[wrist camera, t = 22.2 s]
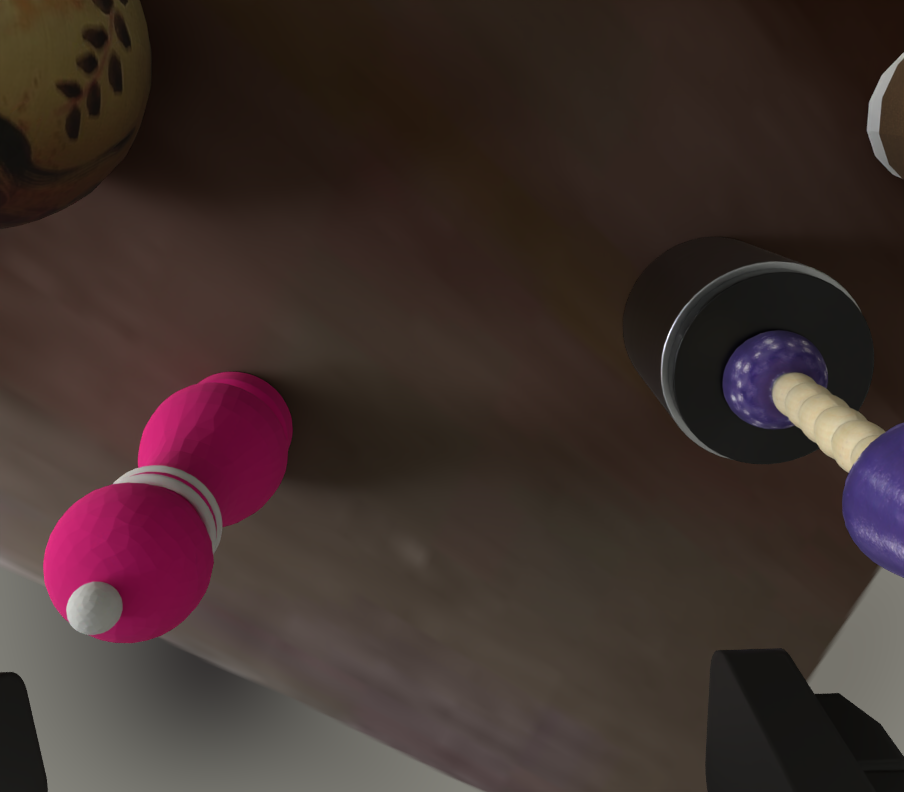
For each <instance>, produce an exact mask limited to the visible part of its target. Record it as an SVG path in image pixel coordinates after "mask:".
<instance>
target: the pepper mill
mask: <svg viewBox="0 0 904 792" xmlns="http://www.w3.org/2000/svg"><path fill="white" fill-rule="evenodd" d="M292 434H293V427H292V418H291V414H290V411H289V408H288V407H287V405H286V403H285V401H284V399H283V398H282V396H281V395H280V394H279V393H278V392H277V391H276V389H274V388H273V387H272V386H271V385H270V384H268V383H267V382H265V381H264V380H262V379H260V378H258V377H256V376H253V375H250V374H247V373H241V372H222V373H218V374H214V375H211V376H209V377H207V378H205V379H203V380H202V381H201V382H199V383H198V384H196V385H191V386H189V387H186V388H184V389H182V390H179V391H177V392H176V393H174V394H173V395H171V396H170V397H168V398H167V399H166V400H165V401H164V402H163V403H162V404H161V405H160V406H159V407H158V408H157V410H156V411H155V412H154V414H153V415H152V416H151V418H150V420H149V422H148V423H147V425H146V427H145V429H144V431H143V435H142V438H141V442H140V448H139V455H138V468H136V469H134V470H131V471H129V472H127V473H126V474H124V475H123V476H121V477H120V478H119V479H118V480H116V481H115V482H114V483H113V484H112V485H109V486H106V487H103V488H100V489H97V490H94V491H92V492H91V493H89V494H87V495H85V496H84V497H83V498H81V499H80V500H78V501H77V502H76V503H74V504H73V505H72V506H71V507H70V508H69V509H68V510H67V511H66V512H65V513H64V515H63V516H62V517H61V519H60V520H59V521H58V522H57V524H56V526H55V528H54V530H53V531H52V533H51V535H50V538H49V541H48V544H47V547H46V550H45V556H44V563H43V568H44V580H45V585H46V588H47V591H48V593H49V596H50V598H51V600H52V602H53V604H54V606H55V607H56V609H57V610H58V611H59V613H60V614H61V615H62V616H63V618H64V619H65V620H67V621H68V622H69V623H70V625H71V626H72V627H73V628H74V629H76V630H77V631H78V632H81V633H83V634H86V635H89V636H92V637H94V638H97V639H100V640H103V641H108V642H114V643H135V642H141V641H146V640H150V639H153V638H155V637H158V636H161V635H163V634H165V633H166V632H168V631H170V630H172V629H173V628H175V627H176V626H178V625H179V624H180V623H181V622H183V621H184V620H185V619H186V618H187V617H188V615H189V614H190V613H191V612H192V611H193V610H194V609H195V608H196V607H197V605H198V604H199V602H200V600H201V599H202V597H203V596H204V594H205V593H206V590H207V588H208V585H209V582H210V578H211V573H212V568H213V564H214V560H213V554H214V552H215V551H216V549H217V547H218V545H219V542H220V539H221V534H222V527H225V526H229V525H232V524H235V523H238V522H239V521H241V520H243V519H245V518H246V517H248V516H250V515H252V514H254V513H255V512H256V511H258V510H259V509H260V508H261V507H263V506H264V504H265V503H266V502H267V501H268V500H269V499H270V498H271V496H272V495H273V494H274V493H275V491H276V490H277V488H278V487H279V485H280V484H281V481H282V479H283V476H284V474H285V471H286V466H287V458H288V449H289V446H290V443H291V440H292Z"/></svg>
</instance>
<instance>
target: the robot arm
mask: <svg viewBox="0 0 904 792" xmlns="http://www.w3.org/2000/svg"><path fill="white" fill-rule="evenodd" d="M705 766H706V782H707V790H708V792H904V756H903V755H902V753H901V752H900V751H899V749H898V748H897V746H896V745H895V744H894V742H893V741H892V739H891V738H890V737H889V736H888V734H887V733H886V731H885V730H884V728H883V727H882V726H881V724H880V723H878V722H877V721H876V720H874V719H873V718H872V717H870V716H869V715H867V714H866V713H865V712H863V711H862V710H861V709H859V708H858V707H857V706H855V705H854V704H853V703H851V702H850V701H849V700H847V699H846V698H845V697H843V696H842V695H841V694H839V693H832V694H814V693H813V691H812V690H811V688H810V687H809V685H808V683H807V682H806V680H805V679H804V677H803V676H802V674H801V672H800V671H799V669H798V668H797V666H796V665H795V663H794V661H793V660H792V658H791V657H790V655H789V654H788V653H787V652H786V651H785V650H784V649H782V648H777V649H747V650H718V651H715V652H714V654H713V656H712V660H711V667H710V684H709V703H708V722H707V742H706V765H705ZM0 792H48V788H47V779H46V773H45V769H44V765H43V760H42V756H41V751H40V747H39V742H38V738H37V734H36V729H35V725H34V721H33V716H32V711H31V707H30V703H29V698H28V694H27V690H26V687H25V684H24V682H23V680H22V679H21V677H20V676H19V675H17V674H16V673H13V672H1V673H0Z"/></svg>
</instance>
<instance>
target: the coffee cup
mask: <svg viewBox="0 0 904 792" xmlns="http://www.w3.org/2000/svg"><path fill="white" fill-rule="evenodd" d="M867 133H868V136H869V139H870V142H871V145H872V148H873V151H874V154H875V156H876V157H877V158H878V160H879V161H880V162H881V163H882V164H883V165H884V166H885V167H886V168H887V169H888V170H889V171H890V172H891V173H892V174H893V175H895V176H897V177H899V178H902V179H903V180H904V53H903V54H902V55H901V56H900V57H899V58H898V59H897V60H896V61H895V62H894V63H893V64H892V65H891V66H890V67H889V68H888V69H887V70H886V71H885V72H884V73H883V74H882V76H881V78H880V80H879V82H878V84H877V86H876V89H875V91H874V93H873V95H872V97H871V99H870V101H869V110H868V123H867Z"/></svg>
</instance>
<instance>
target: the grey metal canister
mask: <svg viewBox="0 0 904 792" xmlns="http://www.w3.org/2000/svg"><path fill="white" fill-rule="evenodd" d="M776 330H783V331H789V332H793V333H796V334H799V335H801V336H803V337H805V338H806V339H808V340H809V341H810V342H812V343H813V344H814V345H815V346H816V347H817V349H818V350H819V352H820V353H821V355H822V357H823V359H824V361H825V364H826V367H827V372H828V384H827V390H828V391H829V392H830V393H831V394H832V395H834V396H837V397H839V398H840V399H842V400H843V401H844V402H846V404H847V405H848V406H849V407H850V408H852V409H854V410H856V411H858V410H859V409H860V407H861V406H862V404H863V402H864V399H865V397H866V395H867V393H868V390H869V387H870V383H871V380H872V374H873V369H874V349H873V341H872V337H871V333H870V330H869V327H868V325H867V322H866V320H865V318H864V316H863V315H862V312H861V310H860V308H859V307H858V305H857V303H856V302H855V300H854V299H853V297H852V296H851V295H850V294H849V293H848V291H847V290H846V289H845V288H844V287H843V286H842V285H840V284H839V283H838V282H837V281H836V280H835V279H833V278H831V277H830V276H828V275H827V274H825V273H823V272H821V271H819V270H817V269H815V268H813V267H810V266H807V265H805V264H802V263H799V262H797V261H794V260H791V259H789V258H786V257H783V256H780V255H778V254H775V253H772V252H770V251H767V250H764V249H762V248H759V247H756V246H754V245H751V244H748V243H745V242H742V241H739V240H736V239H731V238H725V237H706V238H699V239H695V240H690V241H687V242H684V243H682V244H679V245H677V246H675V247H673V248H671V249H669V250H667V251H666V252H665V253H663V254H662V255H660V256H659V257H657V258H656V259H655V260H654V261H653V262H652V263H651V264H650V265H649V266H648V267H647V268H646V269H645V270H644V271H643V273H642V274H641V275H640V277H639V278H638V280H637V281H636V283H635V284H634V286H633V288H632V290H631V292H630V294H629V297H628V300H627V303H626V307H625V311H624V318H623V337H624V342H625V347H626V350H627V353H628V356H629V358H630V360H631V362H632V364H633V366H634V368H635V369H636V370H637V372H638V373H639V375H640V376H641V377H642V379H643V380H644V381H645V383H646V384H647V385H648V387H649V388H650V389H651V391H652V392H653V393H654V395H655V396H656V397H657V399H658V400H659V401H660V403H661V404H662V405H663V407H664V408H665V409H666V411H667V412H668V413H669V415H670V416H671V417H672V419H673V420H674V421H675V423H676V424H677V425H678V427H679V428H680V429H681V430H682V431H683V432H684V433H685V434H686V435H687V437H689V438H690V439H691V440H692V441H693V442H695V443H696V444H697V445H699V446H700V447H702V448H704V449H705V450H707V451H709V452H711V453H713V454H716V455H718V456H721V457H724V458H728V459H731V460H736V461H740V462H745V463H751V464H774V463H782V462H786V461H791V460H794V459H797V458H800V457H803V456H805V455H808V454H810V453H812V452H814V451H816V450H818V449H819V446H818V445H817V443H815V442H813V441H812V440H810V439H809V438H808V437H807V436H806V435H805V434H804V433H803V431H802V429H800V428H798V427H797V426H792V427H789V428H785V429H764V428H760V427H756V426H753V425H751V424H749V423H747V422H745V421H743V420H742V419H740V418H739V417H738V416H737V415H736V414H735V413H734V412H733V411H732V410H731V408H730V407H729V405H728V403H727V401H726V399H725V397H724V392H723V382H722V381H723V374H724V370H725V367H726V365H727V363H728V361H729V359H730V357H731V356H732V354H733V353H734V351H735V350H736V349H737V348H738V347H739V346H740V345H741V344H743V343H744V342H745V341H746V340H748V339H750V338H752V337H754V336H756V335H758V334H760V333H764V332H768V331H776Z"/></svg>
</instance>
